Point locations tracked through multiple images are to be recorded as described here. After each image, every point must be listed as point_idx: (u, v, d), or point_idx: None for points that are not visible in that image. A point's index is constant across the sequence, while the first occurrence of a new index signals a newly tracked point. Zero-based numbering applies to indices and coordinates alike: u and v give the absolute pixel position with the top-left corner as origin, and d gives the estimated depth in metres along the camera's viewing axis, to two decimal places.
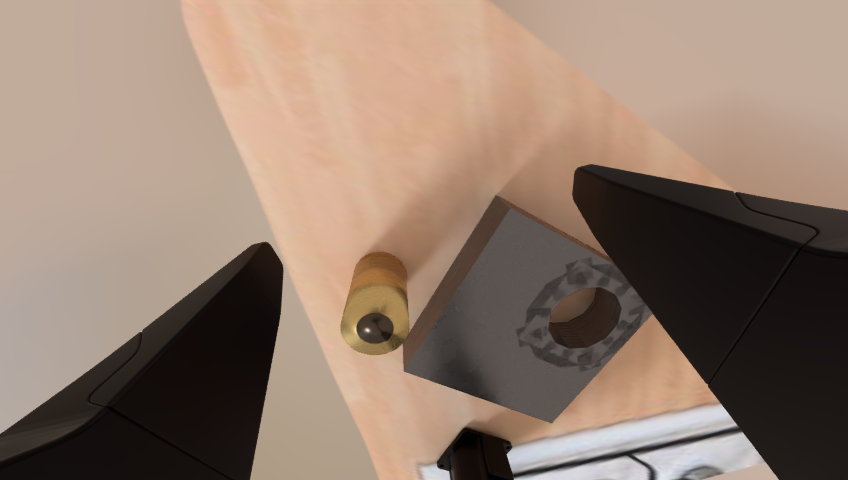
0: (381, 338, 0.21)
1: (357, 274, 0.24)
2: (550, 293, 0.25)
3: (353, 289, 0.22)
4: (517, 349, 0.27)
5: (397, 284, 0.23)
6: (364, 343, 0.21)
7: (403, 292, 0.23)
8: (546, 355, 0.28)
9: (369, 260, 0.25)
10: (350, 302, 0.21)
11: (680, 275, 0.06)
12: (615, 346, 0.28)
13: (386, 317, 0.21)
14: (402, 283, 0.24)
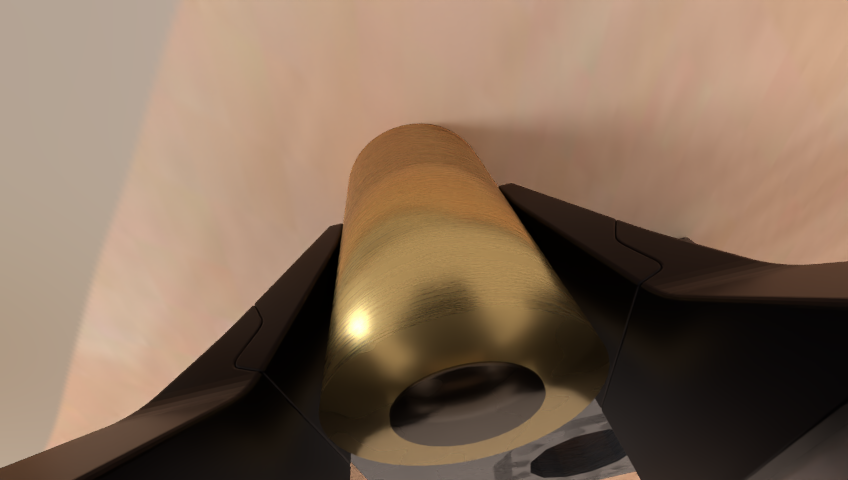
0: (437, 432, 0.05)
1: (442, 159, 0.07)
2: None
3: (458, 206, 0.06)
4: None
5: None
6: (378, 425, 0.05)
7: None
8: (503, 469, 0.17)
9: (465, 149, 0.09)
10: (478, 262, 0.04)
11: None
12: None
13: (535, 399, 0.05)
14: None
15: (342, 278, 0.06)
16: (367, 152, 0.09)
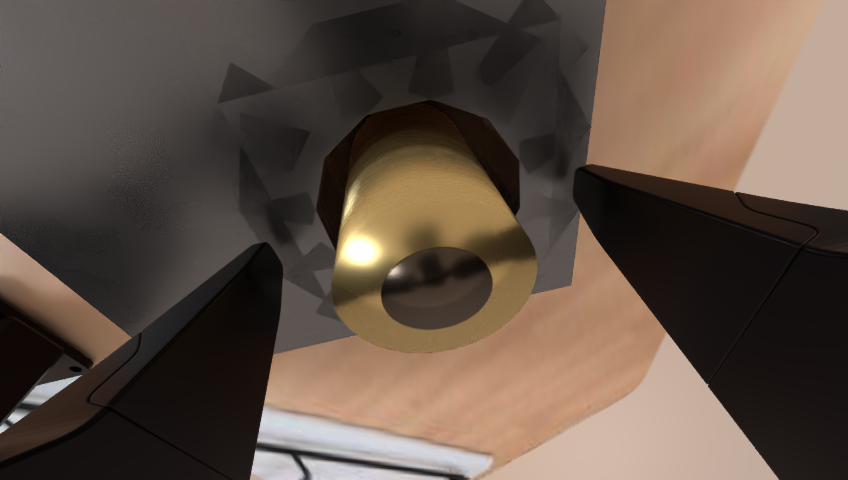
0: (417, 317, 0.07)
1: (425, 125, 0.09)
2: (417, 45, 0.07)
3: (433, 151, 0.07)
4: (194, 138, 0.08)
5: None
6: (373, 302, 0.07)
7: None
8: (270, 225, 0.09)
9: (446, 121, 0.11)
10: (441, 180, 0.06)
11: (680, 275, 0.06)
12: None
13: (486, 288, 0.07)
14: None
15: (347, 205, 0.08)
16: (366, 124, 0.11)
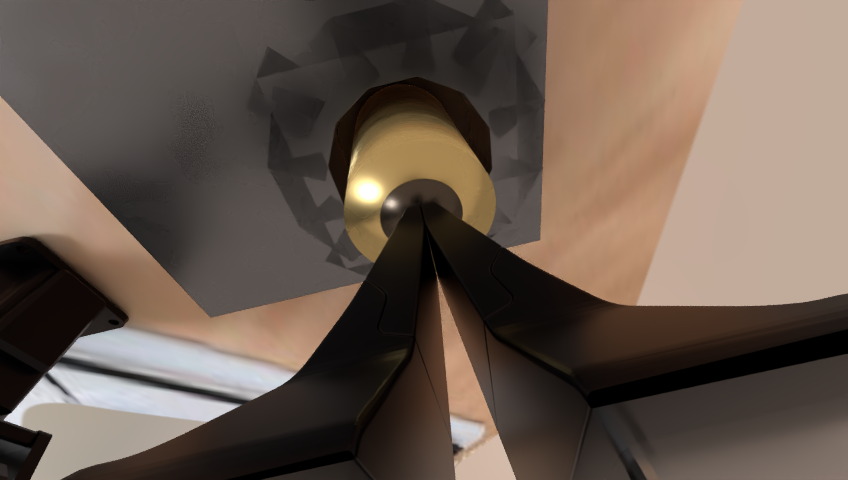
0: None
1: (414, 99, 0.12)
2: (406, 34, 0.10)
3: (419, 115, 0.10)
4: (237, 106, 0.10)
5: None
6: (374, 224, 0.09)
7: None
8: (291, 180, 0.12)
9: (432, 99, 0.13)
10: (423, 130, 0.09)
11: (464, 325, 0.06)
12: None
13: (458, 215, 0.09)
14: None
15: (354, 156, 0.10)
16: (368, 102, 0.13)
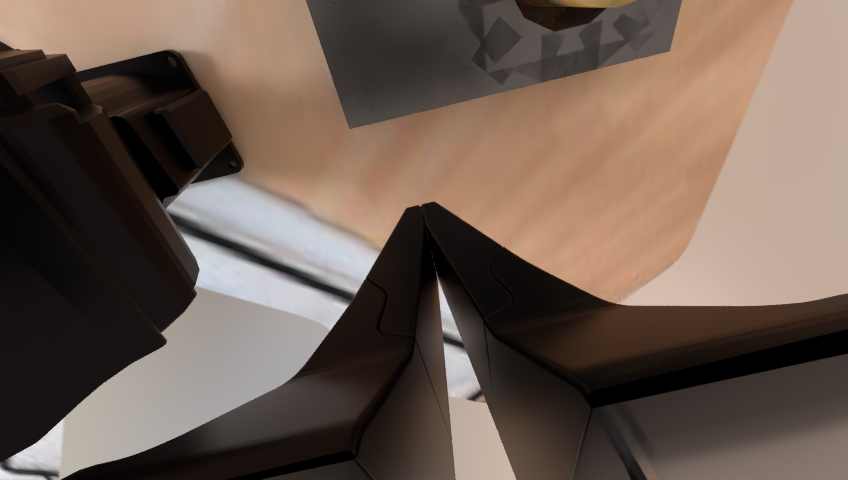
0: None
1: None
2: None
3: None
4: None
5: None
6: None
7: None
8: None
9: None
10: None
11: (464, 325, 0.06)
12: (547, 68, 0.15)
13: None
14: None
15: None
16: None
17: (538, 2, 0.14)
